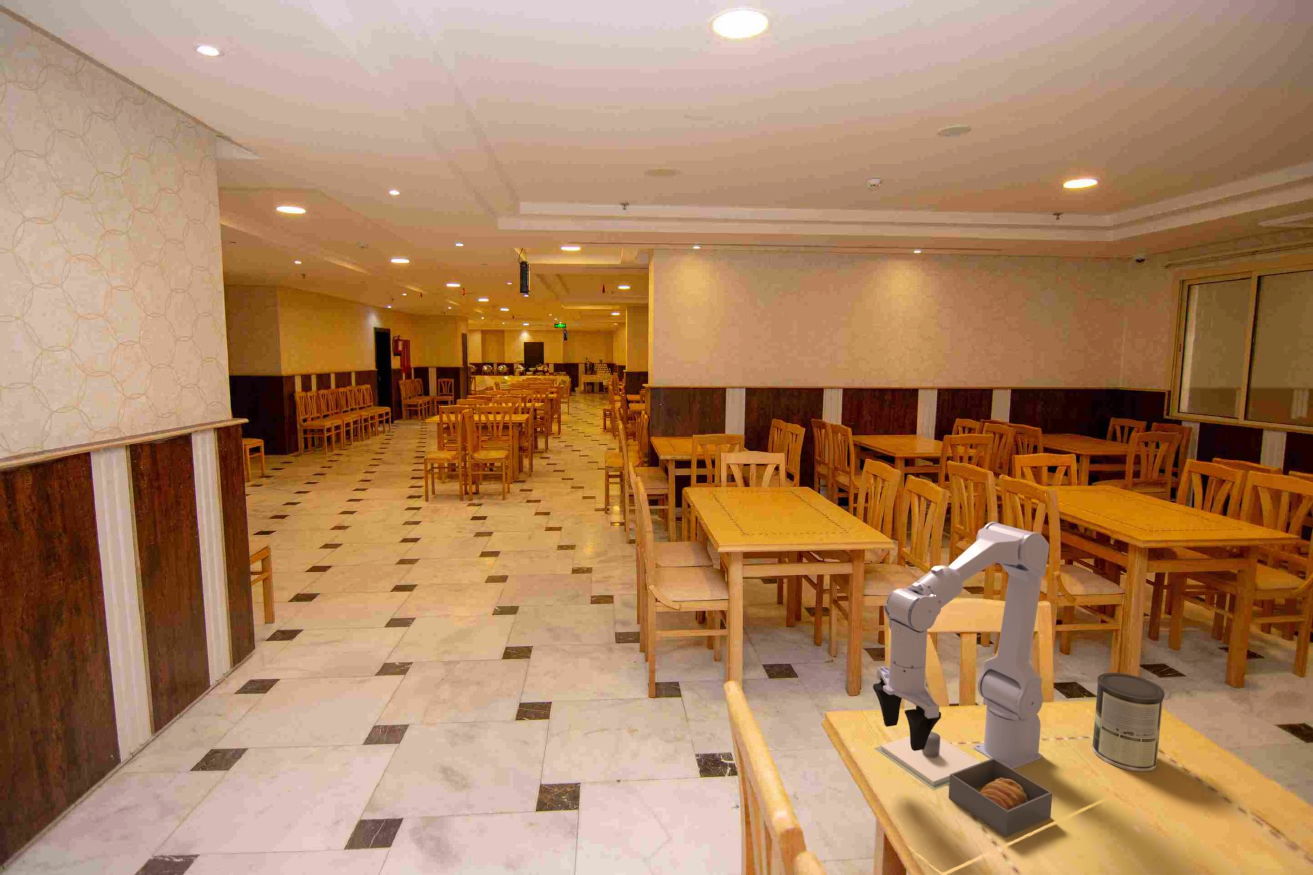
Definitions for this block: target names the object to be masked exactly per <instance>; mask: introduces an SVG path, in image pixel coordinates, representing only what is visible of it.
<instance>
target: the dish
mask: <svg viewBox="0 0 1313 875" xmlns="http://www.w3.org/2000/svg"><path fill="white" fill-rule="evenodd" d="M980 762H981V763H979V764H976V765H973V766H971V767H968V768H965V769H963V770H960V771H957V772H955V773H952V774H950V782H949V784H948V785H949V786H948V799H950V800H951V801H953V802H954V803H955V804H957V805H958V806H960V807H961V808H962V809H964V810H965V811H967V812H968V813H969V814H971V815H973V816H974V817H976V818H977V819H978V820H980V822H982V823H984V824H986V825H987V826H989V827H990V828H991V829H992V830H995V832H997V833H998V834H1000V835H1002V836H1003V837H1005V838H1008V837H1010V836H1013V835H1015V834H1017V833H1019V832H1021V831H1024V830H1025V829H1026V830H1027V829H1028V828H1030V827H1032V826H1035V825H1037V824H1040V823H1041V822H1044V821H1046V820H1048V819H1049V818H1051V815H1052V804H1053V792H1052V791H1050V790H1048V789H1047V788H1045V787H1043V786H1042V785H1040V784H1039V783H1037V782H1035V781H1033V780H1031V779H1029V778H1028V777H1027V776H1025V775H1023V774H1021V773H1020V772H1018V771H1016V770H1015V769H1011V768H1010V767H1008V766H1006V765H1005V764H1003V763H1001V762H1000V761H998V760H996V759H994V758H992V759H990V758H988V759H987V760H984V761H980ZM999 778H1004V779H1011V780H1013V781H1015V782H1017V783H1018V784H1019V785H1020V786H1022V788H1023V789H1024V792H1025V793H1026V795H1027V798H1028V800H1029V801H1028V802H1026V803H1024V804H1021V805H1019V806H1017V807H1014V808H1012V809H1010V810H1006V809H1004V808H1003V807H1001V806H1000V805H998V804H997V803H995V802H994V801H992V800H990V799H989V798H987V797H986V796H984V795H983V794H981V793H980V791H978V790H977V789H979V788H980V787H981V788H982V787H984V786H985V785H987V784H988V783H990V782H993V781H995V779H999Z"/></svg>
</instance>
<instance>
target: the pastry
mask: <svg viewBox="0 0 1313 875" xmlns="http://www.w3.org/2000/svg"><path fill="white" fill-rule="evenodd" d="M979 792H980V793H981V794H983V795H984V796H986V797H987V798H989V799H990V800H992V801H994V802H995V803H997V804H998V805H1000V806H1001V807H1003V808H1004V809H1006V810H1010V809H1012V808H1014V807H1017V806H1019V805H1021V804H1024V803H1026V802H1028V801H1029V800H1028V798H1027V795H1026V793H1025V792H1024V789H1023V788H1022V786H1020V785H1019V784H1018V783H1017V782H1015V781H1013V780H1011V779H1004V778H999V779H995V781H993V782H990V783H988V784H986V785H983V786H982V787H981V789H980V790H979Z"/></svg>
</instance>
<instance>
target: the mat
mask: <svg viewBox="0 0 1313 875" xmlns="http://www.w3.org/2000/svg"><path fill="white" fill-rule="evenodd" d="M874 750H876V751H877V752H878V753H880V754H881V755H882V756H884V757H886V758H887V759H889V760H890V761H892V762H893V763H894V764H895V765H897V766H899V767H900V768H901V769H903V770H904V771H906V772H907V773H909V774H910V775H912V776H913V777H914V778H916V779H917V780H919V781H920V782H922V783H923V784H924V785H926V786H927V787H929V788H930V789H931V790H933V791H935V790H937V789H940V788H943V787H945V786H948V785H949V782H950V780H947V781H945V782H942V783H940V784H937V785H934V786H933V785H931V784H930V783H928V782H927V781H925V780H924V779H923V778H921V777H920V776H918V775H917V774H915V773H914V772H912V771H911V770H910V769H908V768H907V767H905V766H904V765H902V764H901V763H900V762H898V761H897V760H895V759H894V758H892V757H891V756H889V755H888V754H887V753H885V752H884V751H882V750H881V745H880V746H877V747H875V748H874Z"/></svg>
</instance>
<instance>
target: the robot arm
mask: <svg viewBox="0 0 1313 875" xmlns="http://www.w3.org/2000/svg"><path fill="white" fill-rule="evenodd" d="M975 539H976V540H975V542H973V543H972V544H971V545H970V546H969V547H968V548H967V549H966V550H965V551H963V552H962V553H961V554H960V555H959V556H958V557H957V558H956V559H954V561H952V562H951V563H950V564H949V565H948V566H947V565H941V564H940V565H939V564H938V565H935V566H933V567H932V568H931V569H930V571H928V572H927V573H925V574H924V575H923V576H921V577H920V578H919V579H917V580H916V581H915V582H913V583H911V585H909V586H908V587H907V588H905V587H900V588H897V589H894V590H893V591H891V592H890V594H888V596H887V598H886V601H885V604H884V605H883V612H884V614H885V616H886V618H887V619H888V624H887V625H888V628H889V630H890V643H889V644H890V647H889V663H888V664H889V665H888V666H879V667H878V666H877V667H876V679H878V680H879V682H877V683H874V684H873V685H872V689H873V691H874V692H875V696H876V697H877V700H878V702H879V707H880V709H881V710H880V711H881V714H882V718H883V723H884V726H885V727H894V726H898V722H899V719H900V718H899V717H900V709H901V704H902V700H905V701H907V702H908V703H909V702H910V703H912V704H913V705H914V706H915V708H912V709H906V710H904V714H905V717H906V719H907V723H908V727H909V736H910V744H911V749H912V750H913V751H918V750H924V748H925V745H926V742H927V740H928V737H929V735H930V732H932V730H933V728H934V727H935V725H936V724H937V723H938V722H939V720H941V718H942V712H940V705H939V704H937V702H936V701H935V700H934V699H933V697H932V696H931V694H930V693H929V691H928V689H927V687H926V686H925V685H926V684H925V683H926V668H927V667H926V665H927V664H926V663H927V646H928V645H927V644H928V630H929V629H931V628H932V627H933V625H934V624H935V622H936V620H937V617H938V616H939V615H940V614H941V611H942V608H944V607H945V606H946V605H948V604H949V603H950V602H951V601H953V600H954V599H956V598H957V597H958V596H960V595H961V593H963V589H964V584H963V583H964V582H966V581H968V580H969V579H971V578H972V577H974V576H975V575H977V574H979V573H980V572H982V571H983V570H985V569H987V568H988V567H990V566H992V565H993V564H1000V566H1001V567H1002V568H1003V569H1004V570H1005V571H1006V573H1007V574H1008V580H1007V586H1006V587H1007V588H1006V593H1005V602H1004V608H1003V615H1002V622H1001V627H1000V636H999V642H998V648H997V656H994V657H991V658H988V659H986V660H985V661H984V663H983V669H982V671H981V673H980V675H979V677H978V680H977V691H978V694H979V696H980V697H981V698H983V704H984V705H985V706H986V711H985V712H986V713H985V725H984V726H985V729H984V742H981V743H978V744H977V745H974V746H972V748H973V750H976V751H977V752H978V753H980V754H981V755H984V756H985V757H987V758H988V759H992V758H994V759H996V760H998V761H1000V762H1001V763H1003V764H1005V765H1006V766H1008V767H1010V768H1011V769H1013V770H1015V769H1017V768H1019V767H1022V766H1024V765H1027V764H1030V763H1033V762H1035V761H1037V760H1040V759H1043V758H1044V756H1043V754H1041V753H1040V752H1039V751H1040V736H1041V719H1040V718H1039V715H1038V714H1039V712H1040V711H1041V709H1042V706H1043V700H1044V698H1043V691H1042V682H1043V679H1042V678H1041V676H1040V674H1039V673H1038V672H1037V671H1036V670H1035V668H1034V667H1033V666H1032V665H1031V663H1030V659H1031V653H1032V645H1033V640H1034V633H1035V627H1036V621H1037V615H1038V614H1037V613H1038V606H1039V602H1040V601H1039V600H1040V594H1041V588H1042V581H1043V577H1045V576H1046V571H1047V570H1046V569H1047V564H1048V556H1049V551H1050V544H1049V542H1048V541H1047V540H1046V538H1045V537H1044V536H1043V535H1042V534H1041V533H1039V532H1036V531H1029V530H1025V529H1021V528H1017V527H1014V526H1009V525H1005V524H1002V523H999V522H997V521H990V522H988V523H987V524H985V525H984V526H983V527H982V528H980V529H979V530H978V531H977V534H976V538H975Z"/></svg>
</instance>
